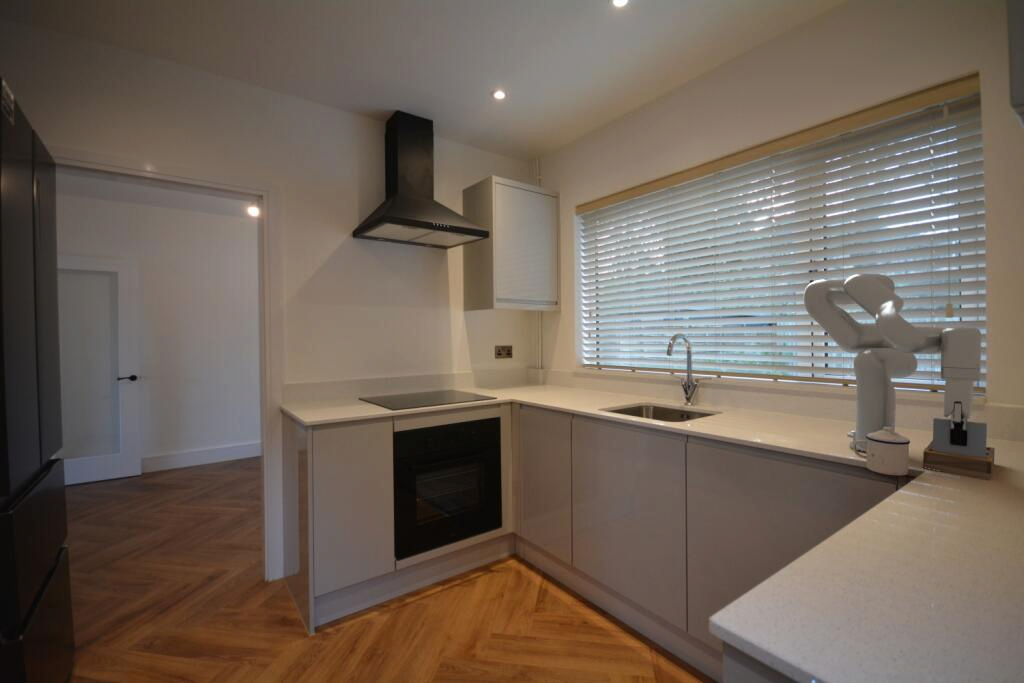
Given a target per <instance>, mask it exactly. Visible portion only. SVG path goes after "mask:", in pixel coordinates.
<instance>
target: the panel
mask: <svg viewBox="0 0 1024 683" xmlns="http://www.w3.org/2000/svg"><path fill="white" fill-rule="evenodd" d="M932 421H933V424H932V425H933V426H932V429H933V431H932V440H933V451H935V452H942V453H948V454H955V455H962V456H969V457H975V458H982V459H986V447H987V437H988V436H987V434H988V433H987V430H988V423H986V422H975V421H968V420H967V421H966V431H967V446H960V445H952V444H950V429H951V418H950V419H949V418H941V417H940V418H939V417H934V418H933V420H932Z"/></svg>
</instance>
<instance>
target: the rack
mask: <svg viewBox="0 0 1024 683" xmlns="http://www.w3.org/2000/svg"><path fill="white" fill-rule="evenodd" d="M995 450H996V449H995V447H990V446H986V459H982V458H975V457H969V456H962V455H955V454H948V453H942V452H935V451H933V439H932V440H931V442H930V443H929V444H928V445H927V446H926V447H925V448H924V450H923V458H922V459H923V460H922V468H923V467H926V468H930V469H935V470H934V471H936V470H940V471H939V472H942V471H945V472H944V473H948V472H950V473H949V474H953V473H955V475H959V476H960V475H961V476H965V477H972V478H978V479H984V480H990V481H991V480H992V477H993V471H994V465H995ZM930 469H929V470H930Z"/></svg>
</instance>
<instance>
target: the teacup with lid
mask: <svg viewBox="0 0 1024 683" xmlns="http://www.w3.org/2000/svg"><path fill="white" fill-rule="evenodd" d="M866 438H867V441H866V440H857V441H855V442H854V443H853V449H852V450H853V452H854V454H855V455H856V456H857V457H859V458H861V459H864V460H866V463H865V464H866V468H867V469H868V470H869V471H871V472H874V473H878V474H882V475H887V476H899V477H900V476H906V475H908V473H909V455H910V454H909V452H910V451H909V450H910V449H909V448H910V444H911V440H910V439H909V438H908V437H907V436H903V435H901V434H900V433H898V432H896V431H895V432H894V431H893V428H891V427H883V430H880V431H877V432H875V433H869V434H867V436H866ZM857 443H867V452H866V455H863V454H861V453H859V451H858V450H857V449H856V444H857Z"/></svg>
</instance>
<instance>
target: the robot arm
mask: <svg viewBox="0 0 1024 683" xmlns="http://www.w3.org/2000/svg"><path fill="white" fill-rule="evenodd" d="M895 289H896V286H895V282H894V280H893V279H892V278H891V277H889V276H888V275H886V274H883V273H857V274H853V275H851V276H849V277H848V278H846V279H819V280H815V281H812V282H810V283H809V284H808V285H807V286H806V287H805V290H804V292H803V304H804V305H803V306H804V308H805V310H806V312H807V313H808V314H809V316H810V317H811V318H812V319H813V320H814V321H815V322H816V323H817V324H818V325H819V326H820V327H821V328H822V329H823V330H824V331H825V332H826V333H827V335H828V336H829V337H831V339H832V340H833V342H835V343H836V345H837V346H839V347H840V348H841V349H842V350H843V351H844V352H845V353H850V354H855V355H856V356H855V357H854V360H853V369H854V377H855V381H856V382H855V383H856V411H855V412H856V414H855V416H856V417H855V418H856V419H855V430H851V431H850V432H847V433H846V436H847V437H848V438H851V439H852V441H851V442H849V448H850V449H852V448H853V443H854V442H855V441H857V440H866V441H867V438H866V436H867V434H869V433H875V432H877V431H880V430H883V427H891V428H893V431H894V432H896V405H897V404H896V403H897V402H896V400H897V399H896V397H897V395H896V389H895V386H894V384H893V382H892V379H904V378H907V377H911V376H912V375H914V373H915V372H916V371H917V369H918V366H919V365H918V360H917V357H916V356H915V355H935V354H937V355H939V354H940V379H941V380H943V381H945V382H944V384H945V385H944V400H943V402H944V403H943V417H945V418H948V417H949V416H950V417H951V418H950V420H951V429H950V444H952V445H960V446H967V431H966V421H968V420H969V419H970V417H972V412H973V407H974V386H975V383H974V382H980V381H981V358H982V332H981V330H980V329H979V328H976V327H970V326H968V327H966V326H965V327H964V326H963V327H956V326H955V327H941V326H914V325H912V324H911V323H910V322H909V321H907V320H906V319H905V318H904V317H902V316H901V315H900V314H899V313H900V312H901V310H902V309H903V307H904V303H905V302H904V300H903V298H902V297H900V296H899V295H897V294H896V293H895ZM854 304H856V305H858V306H859V307H860V308H861V309H862V310H864V311H866V313H868V314H869V315H870V316H871V317H873V318H874V319H875V320H874V322H875V324H869V323H861V322H859V321H858V320H856V319H854V318H853V316H851V314H849V312H847V310H844V309H843V308H841V307H840V306H838V305H854ZM856 449H857V451H858V450H861V451H860V452H862V451H866V452H865V453H867V443H857V444H856Z"/></svg>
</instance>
